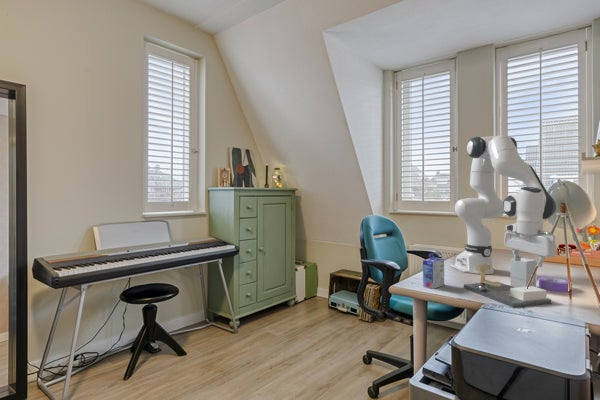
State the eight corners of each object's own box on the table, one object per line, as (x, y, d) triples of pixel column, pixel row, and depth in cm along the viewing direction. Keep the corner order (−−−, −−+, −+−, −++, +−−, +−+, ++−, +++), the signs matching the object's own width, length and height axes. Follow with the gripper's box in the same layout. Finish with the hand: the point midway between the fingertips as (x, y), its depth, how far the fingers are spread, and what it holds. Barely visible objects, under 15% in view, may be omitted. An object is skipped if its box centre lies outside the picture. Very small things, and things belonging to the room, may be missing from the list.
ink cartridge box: (433, 282, 161) (433, 252, 161) (444, 285, 157) (445, 253, 157) (422, 286, 155) (422, 254, 155) (433, 289, 151) (433, 256, 150)
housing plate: (463, 287, 153) (463, 281, 153) (498, 284, 157) (498, 278, 157) (512, 307, 128) (512, 299, 128) (552, 303, 132) (552, 295, 132)
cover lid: (510, 295, 137) (510, 288, 137) (532, 293, 140) (532, 286, 140) (523, 300, 131) (523, 292, 131) (546, 298, 134) (546, 290, 134)
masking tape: (535, 288, 153) (536, 279, 153) (541, 283, 161) (541, 275, 161) (568, 294, 144) (569, 285, 144) (573, 288, 153) (573, 280, 152)
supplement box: (536, 288, 152) (537, 260, 151) (526, 290, 148) (526, 261, 148) (519, 284, 158) (520, 257, 158) (509, 286, 155) (510, 258, 155)
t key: (485, 284, 147) (486, 263, 147) (504, 288, 140) (504, 267, 140) (475, 286, 144) (475, 265, 143) (494, 291, 137) (494, 269, 136)
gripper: (561, 232, 125) (559, 270, 126) (514, 224, 145) (512, 257, 146) (547, 233, 124) (545, 271, 125) (501, 225, 144) (500, 258, 145)
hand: (527, 263), depth 136 cm, fingers open, 8 cm apart
